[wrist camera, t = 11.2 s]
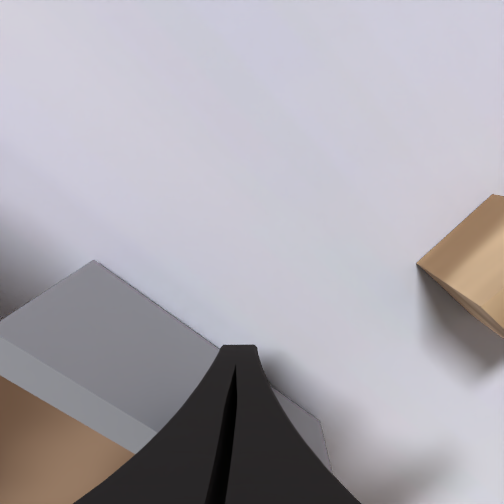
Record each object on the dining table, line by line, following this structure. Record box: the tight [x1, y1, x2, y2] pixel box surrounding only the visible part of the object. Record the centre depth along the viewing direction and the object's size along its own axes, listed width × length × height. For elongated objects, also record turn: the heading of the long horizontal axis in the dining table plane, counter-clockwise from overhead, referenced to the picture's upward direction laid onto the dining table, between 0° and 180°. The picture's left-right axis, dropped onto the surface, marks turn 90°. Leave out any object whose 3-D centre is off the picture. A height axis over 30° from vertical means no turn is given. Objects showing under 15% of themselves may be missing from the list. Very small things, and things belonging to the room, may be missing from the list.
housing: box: [0, 375, 135, 504], centre depth 15 cm, size 15×11×4 cm
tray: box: [0, 260, 332, 473], centre depth 13 cm, size 14×12×6 cm
